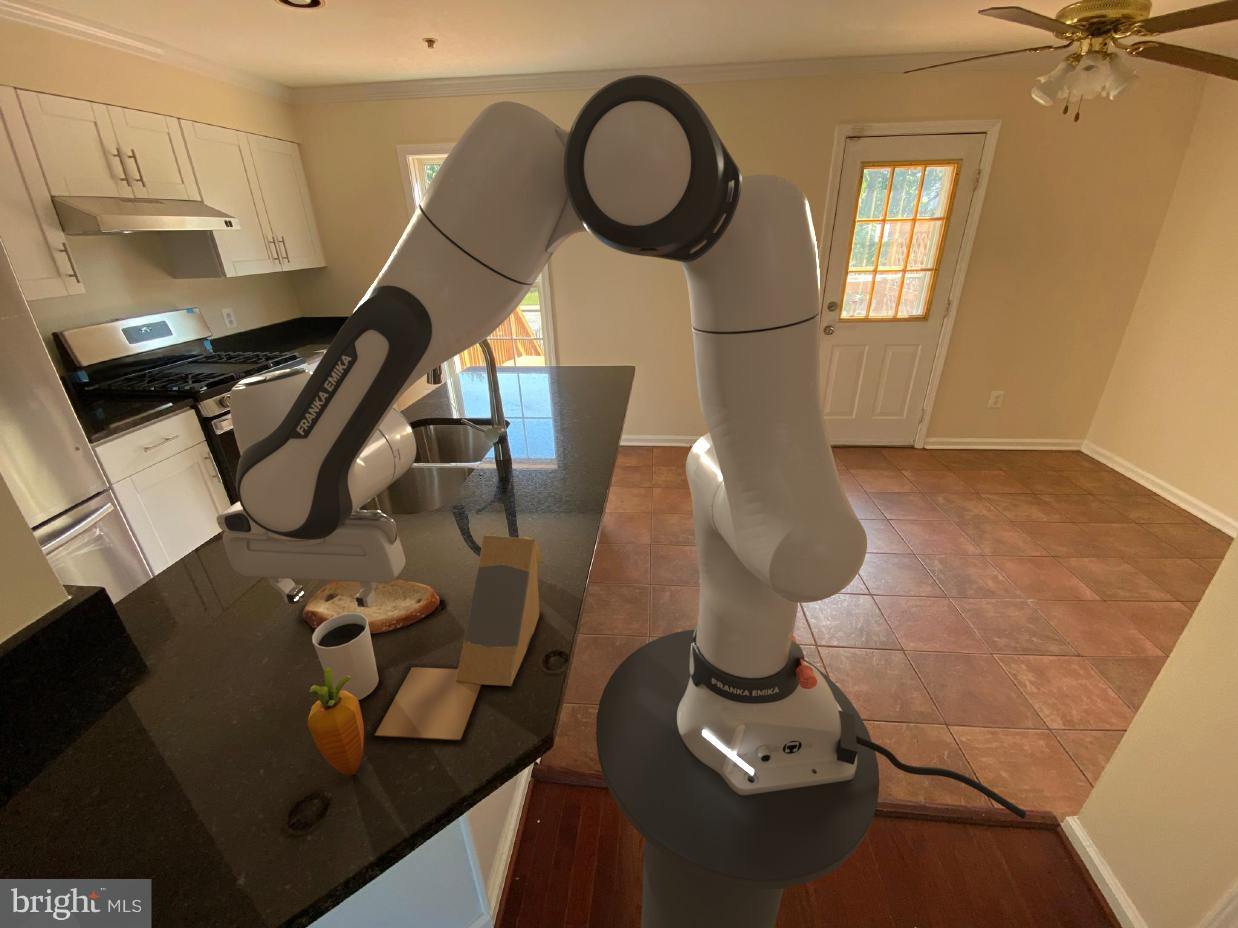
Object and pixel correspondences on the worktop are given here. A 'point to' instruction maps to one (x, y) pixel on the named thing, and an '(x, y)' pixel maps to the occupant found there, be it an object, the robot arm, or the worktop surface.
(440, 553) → the worktop surface
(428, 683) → the cork coaster
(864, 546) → the robot arm
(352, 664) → the white coffee cup
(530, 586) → the sandwich container
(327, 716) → the carrot
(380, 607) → the slice of bread
